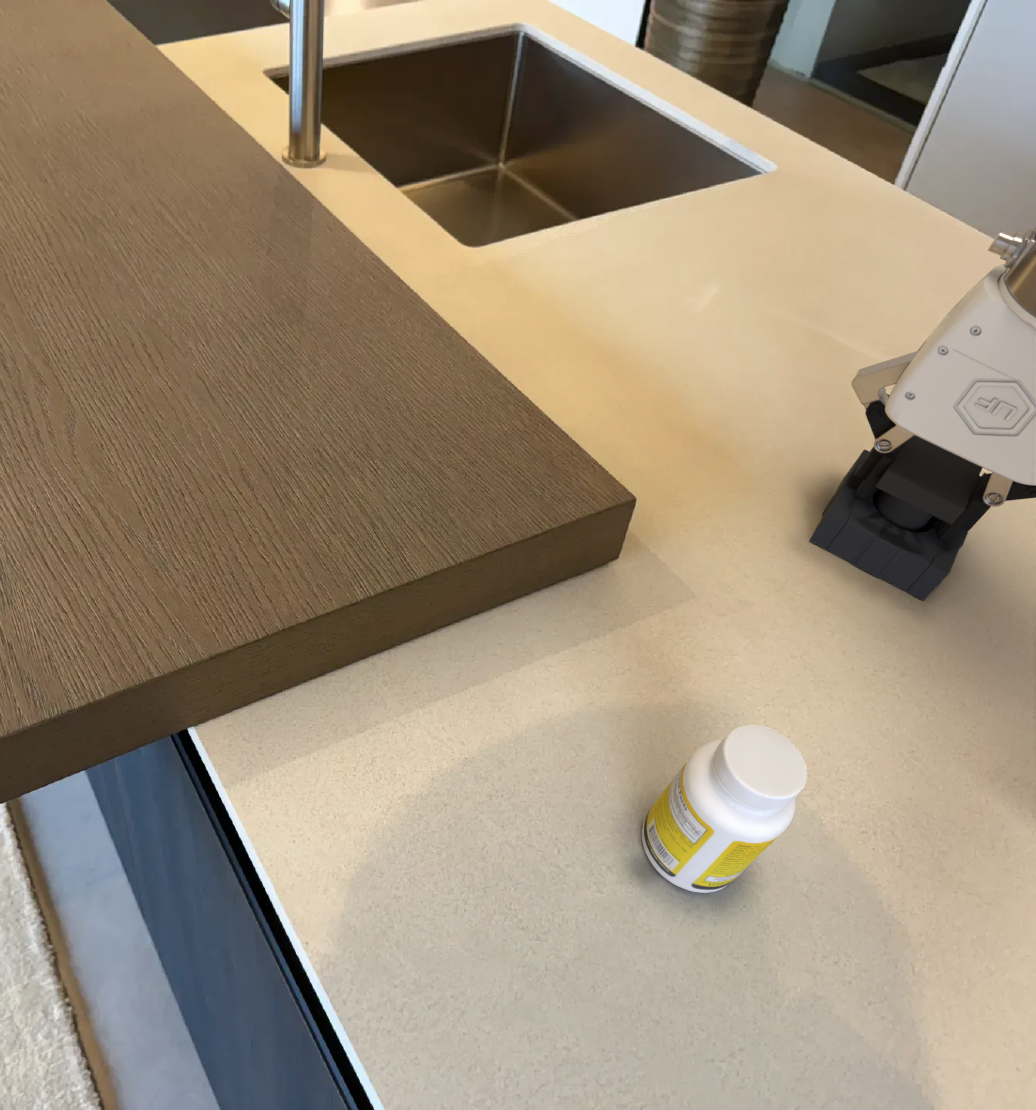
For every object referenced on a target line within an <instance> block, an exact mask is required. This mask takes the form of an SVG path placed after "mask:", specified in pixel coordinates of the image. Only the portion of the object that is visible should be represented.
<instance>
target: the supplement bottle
mask: <svg viewBox="0 0 1036 1110" xmlns="http://www.w3.org/2000/svg"><path fill="white" fill-rule="evenodd" d="M796 745H797V744H795V743H794V742H793V741H792V740H791V739H790V738H789V737H787V736H786V735H784V734H783V733H782V732H780V731H778V730H776V729H774V728H772V727H769V726H766V725H763V724H759V723H758V724H757V723H747V724H742V725H739V726H737V727H734V728H733V729H731V730H730V731H729V732H728V734H726V736H725V737H724V738H723V739H717V740H712V741H709V742H707V743H705V744H703V745H702V746H700V747H698V748H697V749H696V750H695V751H694V752H693V753H692V755H690V756H689V757H688V759H687V760H686V762H685V763H684V764H683V766H682V767H681V768H680V770H679V771H678V772H677V774H676V775H675V776H674V777H673V778H672V780H671V781H670V783H669V784H668V785H667V786H666V788H665V789H664V790H663V791H662V793H661V794H660V796H659V797H658V798H657V800H656V801H655V802H654V804H653V805H652V806H651V808H649V810H648V812H647V814H646V816H645V817H644V820H643V824H642V830H641V839H642V840H641V841H642V845H643V849H644V852H645V854H646V857H647V858H648V860H649V862H650V863H651V865H652V866H653V867H654V868H655V870H656V871H657V872H658V873H659V874H660V875H661V876H662V877H663V878H664V879H665V880H667V881H668V882H670V883H671V884H672V885H675V886H676V887H679V888H681V889H683V890H685V891H689V892H694V893H702V894H703V893H704V894H705V893H714V892H717V891H720V890H723V889H724V888H726V887H728V886H729V885H730V884H731V883H733V882H734V881H735V880H736V879H737V878H738V877H739V876H740V875H741V874H742V873H743V872H744V871H745V870H746V869H747V868H748V867H749V866H750V865H751V864H752V863H753V862H754V861H755V860H756V859H757V858H758V857H759V856H760V855H761V854H762V853H763V852H764V851H766V849H767V848H769V846H770V845H772V843H773V842H775V841H776V840H777V839H778V838H779V837H780V836H781V835H782V834H783V833H784V832H785V831H786V829H788V827H789V826H790V824H791V822H792V821H793V818H794V816H795V810H796V797H797V796H798V795H799V794H800V793H801V791H803V790H804V787H805V785H806V783H807V780H808V766H807V763H806V760H805V758H804V756H803V753H802V752H801V750H800V749H799V748H798V746H796Z"/></svg>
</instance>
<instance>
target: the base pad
mask: <svg viewBox="0 0 1036 1110" xmlns="http://www.w3.org/2000/svg"><path fill="white" fill-rule="evenodd" d="M869 452H870V450H867V449H863V450H862V452H861V453H860V454H859V456H858V457H857V459H856V460H855V461H854V462H853V464H852V466H851V467H850V468H849V470H848V471H847V472H846V474H845V475H844V477H843V478H842V480H841V482H840V484H839V486H838V487H837V489H836V491H835V492H834V494H833V495H832V496H831V498H830V499H829V500H828V503H827V505H826V506H825V508H824V509H823V512H822V514H821V515H822V517H821V519H820V520H819V522H818V524H817V526H816V527H815V528H814V531H813V533H812V535H811V537H810V538H809V542H810V543H812V544H814V545H816V546H818V547H820V548H821V549H823V550H826V551H827V552H829V553H831V554H833V555H835V556H837V557H839V558H841V559H842V560H845V561H846V562H848V563H850V564H851V565H852V566H854V567H856V568H858V569H860V570H861V571H863V572H865V573H867V574H869V575H871V576H873V577H875V578H877V579H880V580H882V581H885V582H886V583H888V584H890V585H892V586H894V587H896V588H898V589H900V590H902V591H904V592H906V593H908V594H909V595H911V596H913V597H914V598H917V599H919V600H921V601H922V602H924V601H925V600H927V598H928V597H929V596H930V595H931V594H932V593H933V592H934V591H935V590H936V588H938V587H939V585H940V584H941V583H942V582H943V581H944V580H945V579H946V578H947V577H948V576H949V575H950V573H951V570H952V568H953V565H954V563H955V560H956V558H957V556H958V553H959V550H960V549H962V548H963V546H964V543H965V541H966V539H967V537H968V534H969V531H968V532H967V531H965V530H963V529H961V528H959V529H958V530H957V531H956V532H955V533H954V535H953V536H952V537H951V538H950V539H949V540H948V541H947V542H944V541H942V540H940V539H938V537H939V536H937V532H938V530H939V528H940V526H941V523H942V521H943V520H941V519H939V518H937V517H935V516H932V518H931V519H930V520H929V521H928V522H927V523H926V525H925V526H924V527H923V528H922V529H921V530H920V531H917V532H911V531H907V530H902V529H900V528H898V527H896V526H894V525H892V524H890V523H889V522H888V521H887V520H886V519H884V518H883V517H882V516H881V515H880V514H879V512H878V511H877V509H876V508H875V506H874V503H875V500H876V499H877V498H878V496H879V495H880V494H881V493H882V490H880V489H878V488H876V486H875V488H874V489H873V490H872V492H871V493H870V494H869V495H868V497H867V498H866V499H863V498H862V500H861V499H859V498H857V497H855V496H854V495H855V493H856V491H857V489H858V487H859V485H860V484H861V482H862V479H860V478H858V477H856V476H854V475H855V473H856V471H857V469H858V467H859V466H860V464H861V463H862V461H863V460H864V459H865V457H866V456H867V455H868V453H869Z"/></svg>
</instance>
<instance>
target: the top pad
mask: <svg viewBox="0 0 1036 1110" xmlns="http://www.w3.org/2000/svg"><path fill="white" fill-rule="evenodd" d="M982 471H983V468H982V467H980V466H978V465H976V464H974V463H972V462H970V461H968V460H965V459H963V458H961V457H959V456H957V455H955V454H953V453H951V452H949V451H947V450H944V449H942V448H940V447H938V446H936V445H934V444H932V443H930V442H928V441H926V440H924V439H922V438H920V437H918V436H916V435H914V436H913V437H912V438H910V439H909V440H907V441H906V442H904V444H903V446H902V448H901V450H900V452H899V454H898V455H897V457H896V459H895V461H894V463H891V464H890V466H889V467H888V468H887V470H886V471H885V472H884V474H883V475H882V476H881V477H880V479H879V481H878V483H877V485H876V488H878V489H880V490H882V493H881V494H880V495H879V496H878V498H877V499H876V500H875V503H874V506H875V508H876V509H877V511H878V512H879V514H880V515H881V516H882V517H883V518H884V519H886V520H887V521H888V522H889V523H890V524H892V525H894V526H896V527H898V528H900V529H902V530H907V531H911V532H917V531H920V530H921V529H922V528H923V527H924V526H925V525H926V523H927V522H928V521H929V520H930V519H931V518H932V516H935V517H937V518H939V519H941V520H943V521H945V522H947V523H949V524H953V523H954V521H955V520H956V519H957V518H958V517H959V516H960V515H961V514H962V512H963V511H964V510H965V508H966V506H967V503H968V501H969V500H968V499H969V496H970V494H971V492H972V489H973V487H974V485H975V482H976V480H977V478H978V475H979V476H981V472H982Z"/></svg>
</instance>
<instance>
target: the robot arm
mask: <svg viewBox="0 0 1036 1110" xmlns="http://www.w3.org/2000/svg"><path fill="white" fill-rule="evenodd" d="M987 251H988V252H990V253H993V254H995V255H997V256H999V259H1000V260H1003V261H1005V262H1004V263H1002V264H998V265H996V266H995V267H993V268H992V269H991V270H990V271H989V272H987V274H985V275H984V276H983V277H982V278H981V279H980V280H979V281H978V282H977V283H975V285H973V286H972V288H970V289H969V290H968V291H967V292H966V293H965V295H964V296H963V297H962V298H961V299H960V300H959V301H958V302H957V303H956V304H955V305H954V306H953V308H951V309H950V311H948V313H947V314H946V315H945V317H944V318H943V319H942V320H941V321H940V322H939V324H938V325H936V327H935V328H934V329H933V331H932V332H931V333H930V334H929V336H928V337H927V338H926V339H925V341H923V343H922V344H921V345H920V347H919V348H918V349H917V350H915V351H913V352H910V353H906V354H903V355H900V356H897V357H894V358H891V359H888V360H887V359H886V360H884V361H881V362H877V363H875V364H872V365H869V366H865V367H862V368H859V369H858V371H857V372H856V374H855V375H854V376H853V379H852V380H851V388H852V389H853V391H854V393H855V395H856V397H857V398H858V400H859V402H860V404H861V405H862V406H863V407H864V409H865V417H866V420H867V422H868V425H869V427H870V430H871V433H872V435H873V437H874V442H873V446H872V448H871V449H870V450H869V453H868V455H867V456H866V457H865V459H864V460H863V461H862V463H861V464H860V466H859V467H858V469H857V471H856V473H855V475H854V476H856V477H858V478H860V479H862V482H861V484H860V485H859V487H858V489H857V491H856V493H855V495H854V496H855V497H857V498H859V499H861V500H862V498H863V499H866V498H867V497H868V495H869V494H870V493H871V492H872V490H873V489H874V488H875V486H876V485H877V483H878V481H879V479H880V477H881V476H882V475H883V474H884V472H885V471H886V470H887V468H888V467H889V466H890V464H891V463H894V461H895V459H896V457H897V455H898V454H899V452H900V450H901V448H902V446H903V444H904V442H906V441H907V440H909V439H910V438H912V437H913V436H914V435H916V436H918V437H920V438H922V439H924V440H926V441H928V442H930V443H932V444H934V445H936V446H938V447H940V448H942V449H944V450H947V451H949V452H951V453H953V454H955V455H957V456H959V457H961V458H963V459H965V460H968V461H970V462H972V463H974V464H976V465H978V466H980V467H982V469H984V470H987V471H989V473H987V472H984V473H982V475H978V478H977V480H976V482H975V485H974V487H973V489H972V492H971V494H970V496H969V499H968V500H969V501H968V503H967V506H966V508H965V510H964V511H963V512H962V514H961V515H960V516H959V517H958V518H957V519H956V520H955V521H954V523H953V524H949V523H947V522H945V521H942V523H941V526H940V528H939V530H938V532H937V536H939V537H938V539H940V540H942V541H944V542H947V541H948V540H949V539H950V538H951V537H952V536H953V535H954V533H955V532H956V531H957V530H958V529H959V528H961V529H963V530H965V531H967V532H968V533H969V531H970V530H971V529H972V528H973V527H974V526H975V525H976V524H977V523H978V522H979V521H980V520H981V518H982V517H983V516H984V515H985V514H986V513H987V512H988V511H989V510H990V509H991V508H992V507H993V508H996V507H997V508H998V507H1000V506H1002V505H1004V503H1005V502H1009V501H1010V502H1011V501H1018V500H1027V499H1036V227H1035V228H1034V229H1031V228H1028V229H1027V230H1026V232H1021V231H1019V230H1018V231H1016V232H1015V231H1012V230H1009V229H1007V228H1005V227H1002V228H1001V229H1000V230H999V232H998V233H997V235H996V236H995V237H994V239H993V240H992V242H991V243H990V245H989V246H988V249H987ZM890 386H893V388H892V390H891V391H890V393H889V394H888V393H887V389H886V388H887V387H890Z"/></svg>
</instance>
